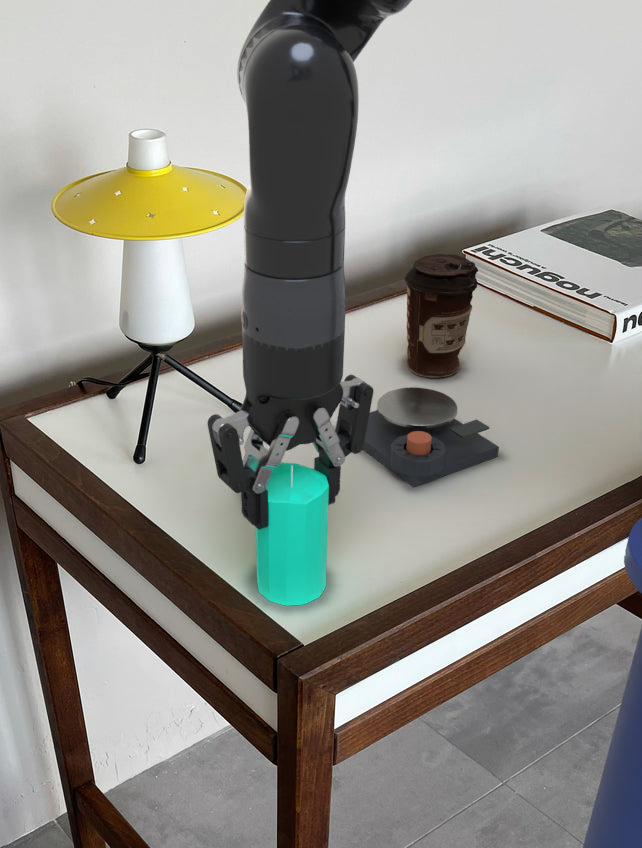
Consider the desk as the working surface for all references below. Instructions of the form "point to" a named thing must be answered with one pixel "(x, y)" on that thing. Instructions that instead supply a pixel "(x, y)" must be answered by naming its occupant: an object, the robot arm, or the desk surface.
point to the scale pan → (424, 410)
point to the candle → (294, 536)
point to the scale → (418, 469)
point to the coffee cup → (438, 312)
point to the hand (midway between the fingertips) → (291, 511)
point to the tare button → (418, 443)
